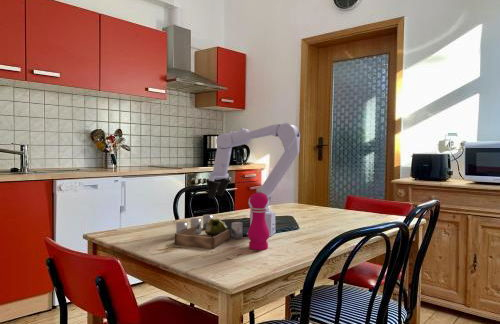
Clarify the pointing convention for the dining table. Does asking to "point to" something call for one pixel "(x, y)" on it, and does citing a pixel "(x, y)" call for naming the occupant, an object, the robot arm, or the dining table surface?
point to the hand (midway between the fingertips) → (215, 197)
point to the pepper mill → (258, 222)
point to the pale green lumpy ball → (215, 226)
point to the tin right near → (196, 224)
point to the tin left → (237, 230)
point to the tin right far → (181, 226)
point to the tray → (200, 239)
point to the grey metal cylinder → (205, 218)
